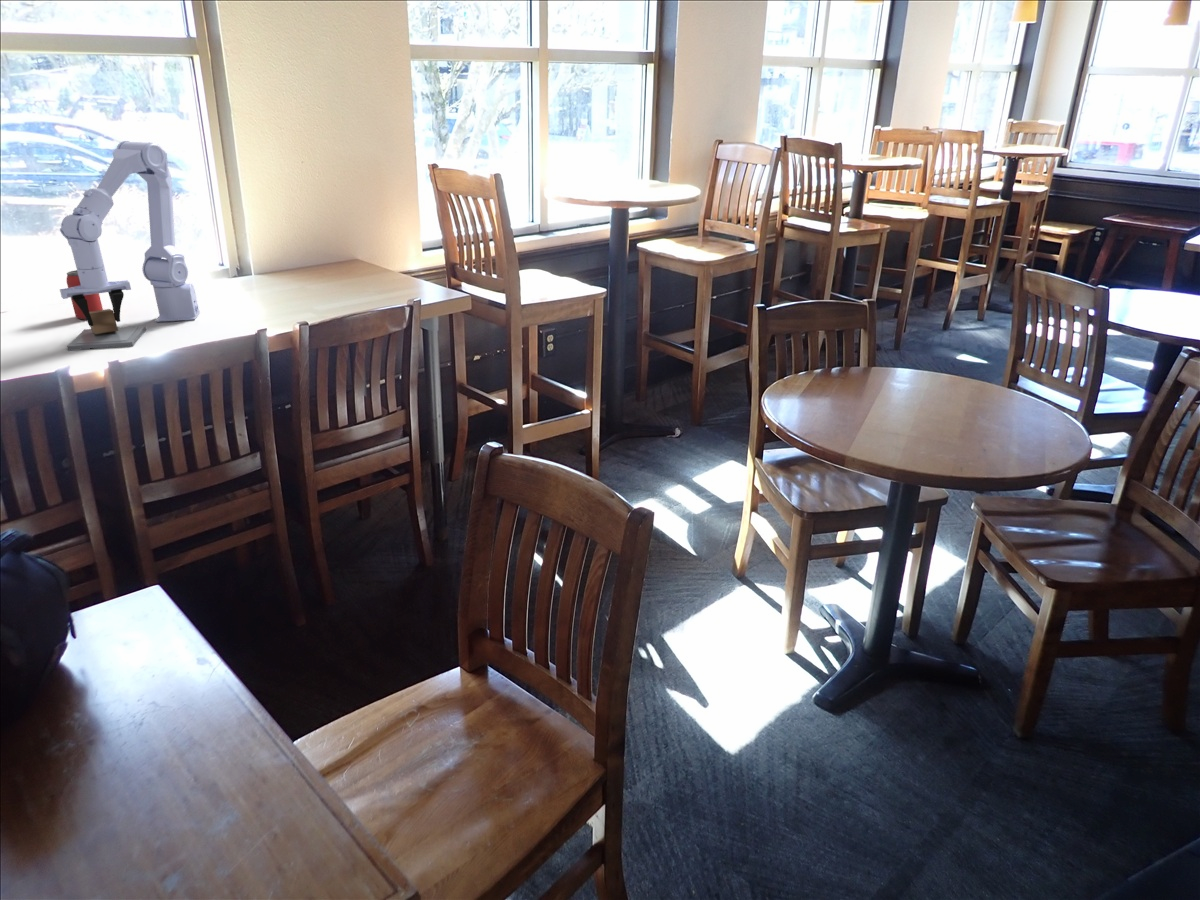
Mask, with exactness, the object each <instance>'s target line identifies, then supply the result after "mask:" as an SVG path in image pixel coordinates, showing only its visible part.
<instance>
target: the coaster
mask: <svg viewBox="0 0 1200 900" xmlns="http://www.w3.org/2000/svg"><path fill="white" fill-rule="evenodd" d="M117 328H118V331H112V332H106V333H100V334H94V333H92V331H91V328H89V329H87V328H85V329H83V330H82V331H81V332H80V333H79V334H78V335H77V336H76V337H75V338H74V339H73V340H72V341H71V342H70V343H68V345H67V346H66V348H67V351H72V350H71V349H82V350H91V349H90V348H97V349H107V348H108V349H109V348H110V347H112V348H125V347H127V348H128V347H134V346H135V345H136V343H137V342H138V341H139V340H140V338H141V337H142V335H144V333H145V332H146V331H147V327H146V325H138V326H137V325H135V326H121V327H119V326H117ZM110 349H111V348H110Z"/></svg>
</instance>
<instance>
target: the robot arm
mask: <svg viewBox="0 0 1200 900" xmlns="http://www.w3.org/2000/svg"><path fill="white" fill-rule="evenodd" d="M112 156H113V157H112V158H113V159H112V161H111V162H110V163H109V166H108V168H107V169H106V171H105V173H104V175H103V176H102V179H101V180H100V182H99V184H98V186H97V187H96V188H90V189H88V190H85V191H84V192H83V194H82V195H83V197H82V198H81V201H80V202H79V203H78V204H77V206H76V207H74V209H73V210H72V211H73V212H72V214H69V215H68V214H67V215H65V217H64V218H62V221H61V225H60V228H59V231H60V234H61V235H62V236H63V238H65V239H66V240H67V244H68V246H70V248H71V252H72V257H73V260H74V265H75V268H76V270H77V272H78V276H79V280H80V284H81V285H80V286H75V287H70V288H68V287H66V288H60V289H59V292H60V296H61V299H63V300H67V299H69V298H70V299H71V298H72V299H73V300H74V301H75V303H76V304H77V305H78V307H79V308H80V309H81V311H82V312H83V314H84V316H85V317H86V319H87V320H86V322H87V324H88V326H89V327H90V326H93V322H92V319H91V316H90V313H89V309H88V304H87V300H86V299H85V297H84V296H83V295H90V294H98V293H99V294H104V293H108V295H109V299H110V303H111V306H112V310H113V313H114V317H115V320H116V323H119V322H121V308H122V303H123V299H124V296H125V294H124V291H130V290H132V287H131V283H130V281H129V280H128V279H127V280H118V281H116V280H115V281H109V280H108V276H107V271H106V267H105V264H104V260H103V256H102V252H101V246H100V244H99V238H100V237H101V235H102V232H103V231H102V230H103V229H102V226H103V221H104V220H105V218H106V217H107V215H108V214H109V212H110V211H111V209H112V208H113V207H114V199H113V196H114V195H115V194H116V192H117V191H118V190H119V189H120V187H121V186H122V185H123V184H124V182H125V181H126V180H127V179H128V177H129V176H130V175H131V174H137V175H139V176H140V177H141V178H142V179H143V180H144V181H145V183H146V187H147V199H148V200H147V203H148V215H149V216H148V217H149V220H148V221H149V234H150V246H149V248H147V250H146V251H145V252H144V262H143V264H142V268H141V269H142V273H143V274H142V275H143V276H144V278H145V279H147V281H149V282H150V285H151V286H152V288H153V292H154V297H155V301H156V304H157V305H156V306H157V309H158V314H159V315H158V316H157V318H156V319H155V322H156V323H159V322H160V323H161V322H176V321H181V322H182V321H193V320H196V319H197V317H198V316H199V314H200V310H199V308H200V307H199V303H198V300H197V294H196V289H195V287H194V284H193V283H186V281H187V279H188V276H189V271H188V266H187V265H186V262H185V255H184V254H183V253H182V252H181V251H179V249H178V248H176V242H175V239H176V238H175V223H174V207H173V206H174V205H173V188H172V187H173V186H172V176H171V175H172V174H171V172H170V169H169V167H168V166H169V165H168V153H167V152H166V151H165V150H164V149H163V147H161V145H159V144H158V143H156V142H153V141H151V142H141V141H138V142H137V141H130V140H122V141H120V142H119V143H118V144H117V146H116V148H115V149H114V150H113V152H112Z"/></svg>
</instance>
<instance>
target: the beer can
mask: <svg viewBox="0 0 1200 900" xmlns="http://www.w3.org/2000/svg"><path fill="white" fill-rule="evenodd" d="M66 285H67V288H70V287H75V286H80V285H81V284H80V280H79V276H78V272H77V269H74V270H71V271H67V272H66ZM83 296H84V297H85V299H86V300H87V304H88V309H89V312H92V311H99V310H104V308H103V304H102V300H101V296H100V293H98V294H90V295H83ZM70 299H71V304H72V308H73V310H74V314H75V318H76V319H78V320H83V321H84V320H86V321H87V319H86V317H85V316H84V314H83V312H82V311H81V309H80V308H79V307H78V305H77V304H76V303H75V301H74V300H73V299H72V298H71V297H70Z"/></svg>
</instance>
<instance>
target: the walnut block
mask: <svg viewBox="0 0 1200 900" xmlns="http://www.w3.org/2000/svg"><path fill="white" fill-rule="evenodd" d="M89 313H90V316H91V319H92V322H93V326H89V327H90V329H91V331H92V333H94V334H100V333H106V332H112V331H118V328H117V327H118V326H117V321H116V320H115V317H114V312H113V309H110V308H107V309H103V310H99V311H92V312H89Z"/></svg>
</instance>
